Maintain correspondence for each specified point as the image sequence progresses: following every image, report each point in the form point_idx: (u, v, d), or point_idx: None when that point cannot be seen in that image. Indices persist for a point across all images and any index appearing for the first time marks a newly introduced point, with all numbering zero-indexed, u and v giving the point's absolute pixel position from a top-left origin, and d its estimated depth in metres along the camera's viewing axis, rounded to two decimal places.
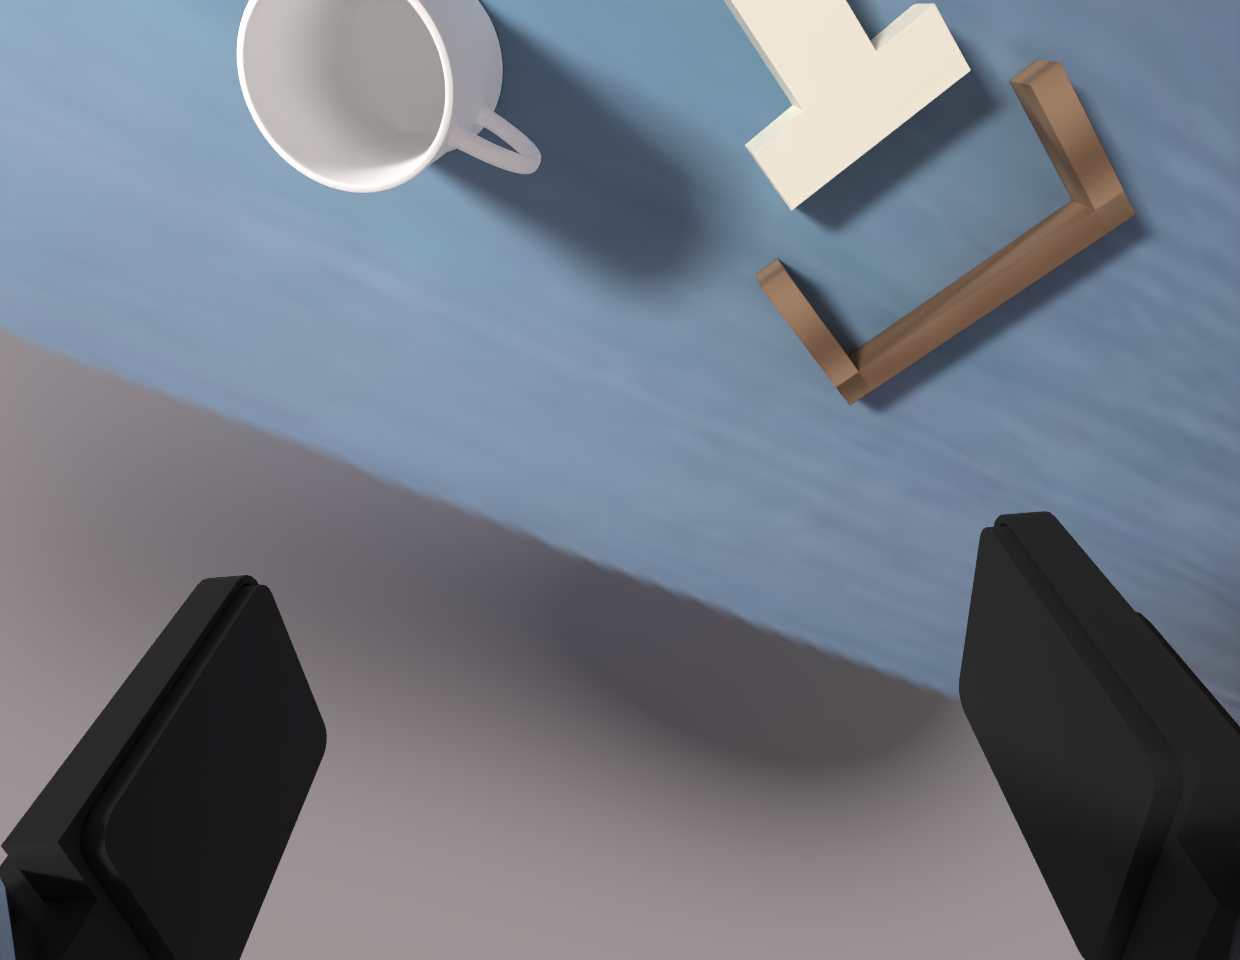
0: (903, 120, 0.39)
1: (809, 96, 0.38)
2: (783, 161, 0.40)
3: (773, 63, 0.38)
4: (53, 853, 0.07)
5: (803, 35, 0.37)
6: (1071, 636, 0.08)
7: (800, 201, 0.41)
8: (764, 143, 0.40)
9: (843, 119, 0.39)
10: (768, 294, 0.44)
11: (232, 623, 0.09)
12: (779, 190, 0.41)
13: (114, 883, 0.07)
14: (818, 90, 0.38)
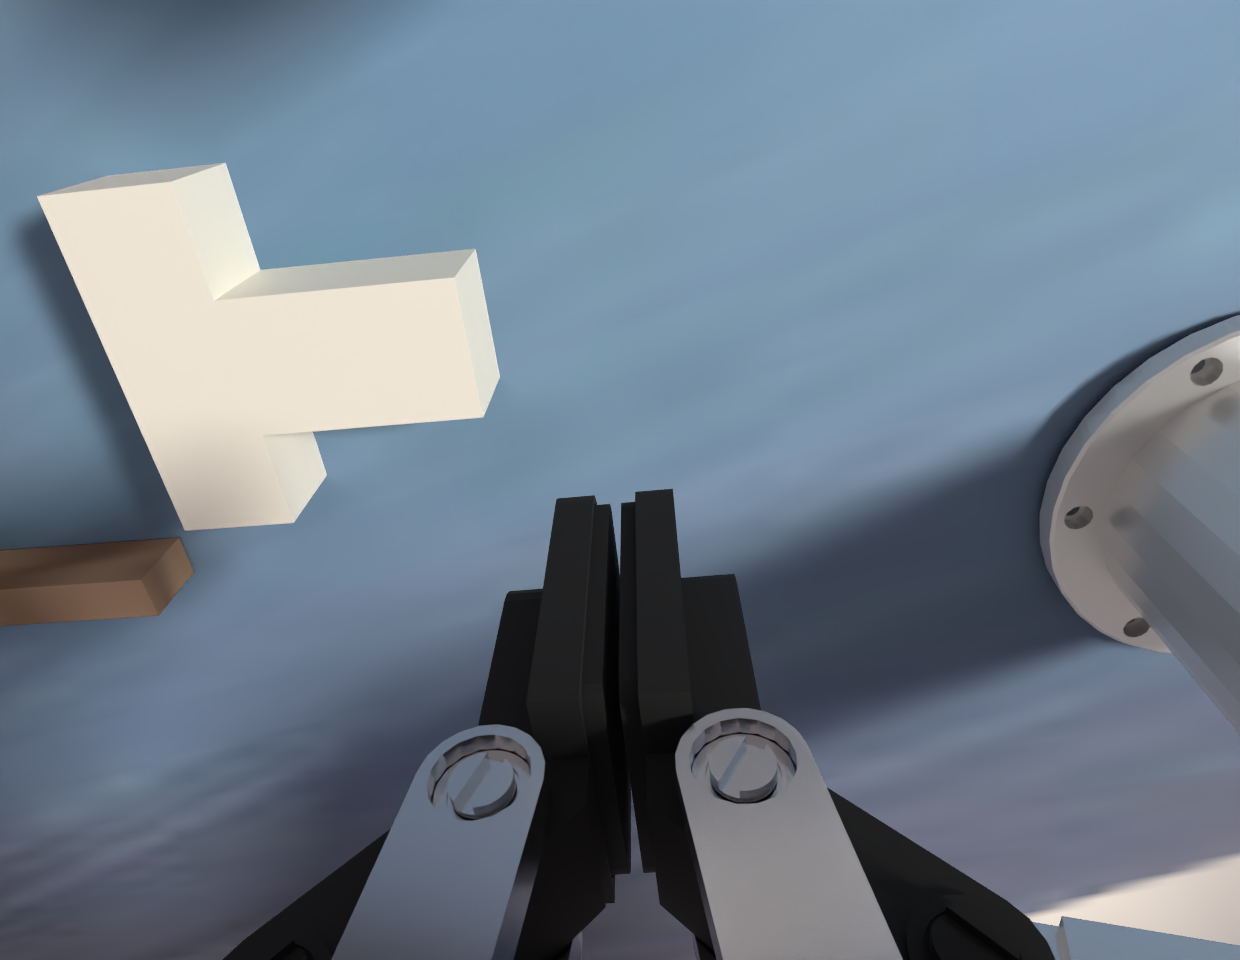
0: (142, 429, 0.23)
1: (234, 320, 0.22)
2: (137, 227, 0.20)
3: (309, 293, 0.21)
4: (568, 711, 0.08)
5: (330, 353, 0.22)
6: (625, 591, 0.09)
7: (50, 220, 0.20)
8: (183, 212, 0.20)
9: (176, 352, 0.22)
10: None
11: (604, 534, 0.10)
12: (83, 194, 0.20)
13: (598, 744, 0.08)
14: (238, 337, 0.22)
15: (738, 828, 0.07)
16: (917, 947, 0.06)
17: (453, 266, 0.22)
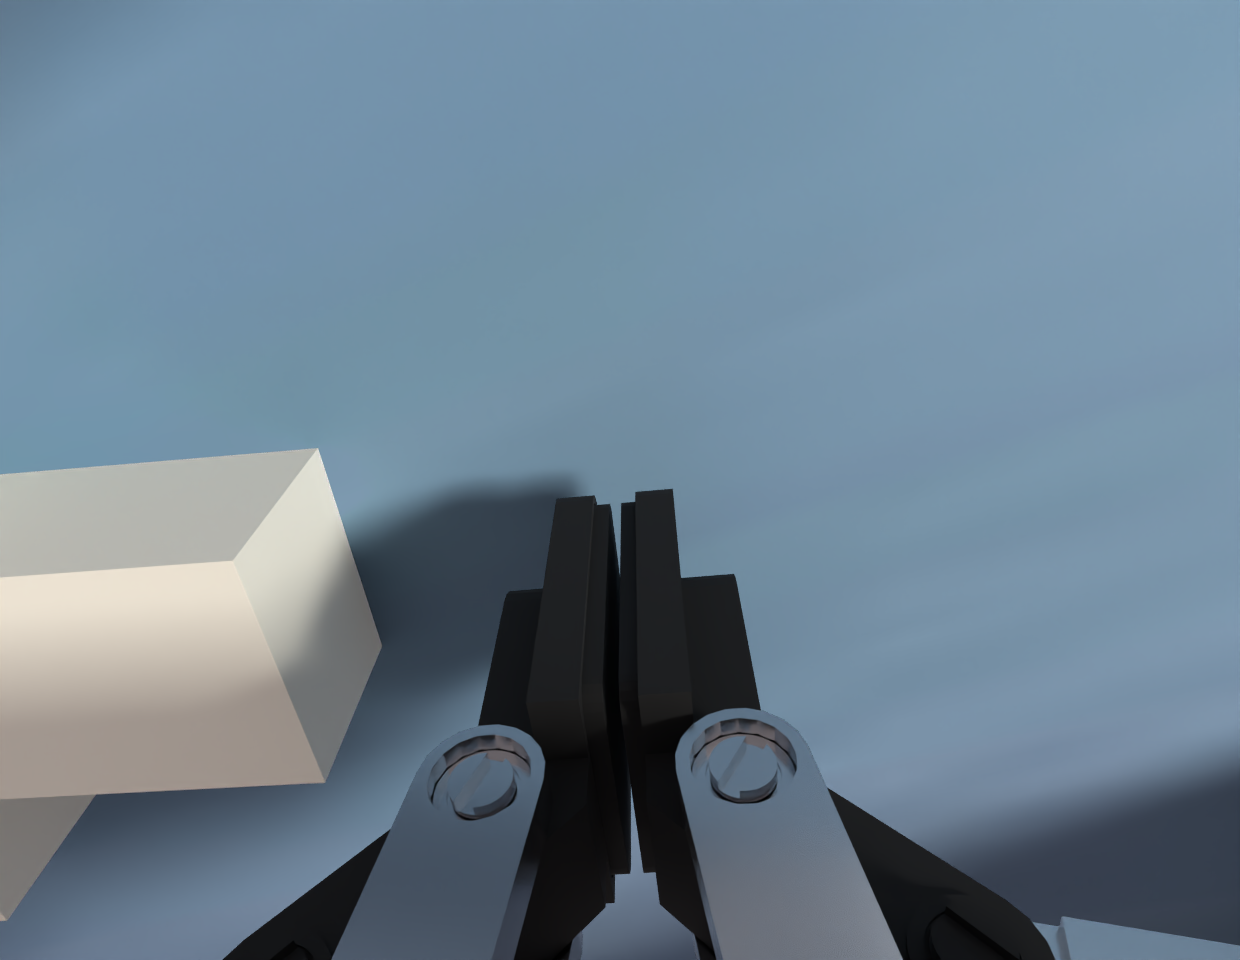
0: None
1: None
2: None
3: None
4: (568, 711, 0.08)
5: (7, 683, 0.11)
6: (624, 592, 0.09)
7: None
8: None
9: None
10: None
11: (604, 534, 0.10)
12: None
13: (598, 744, 0.08)
14: None
15: (738, 828, 0.07)
16: (916, 947, 0.06)
17: (251, 512, 0.11)
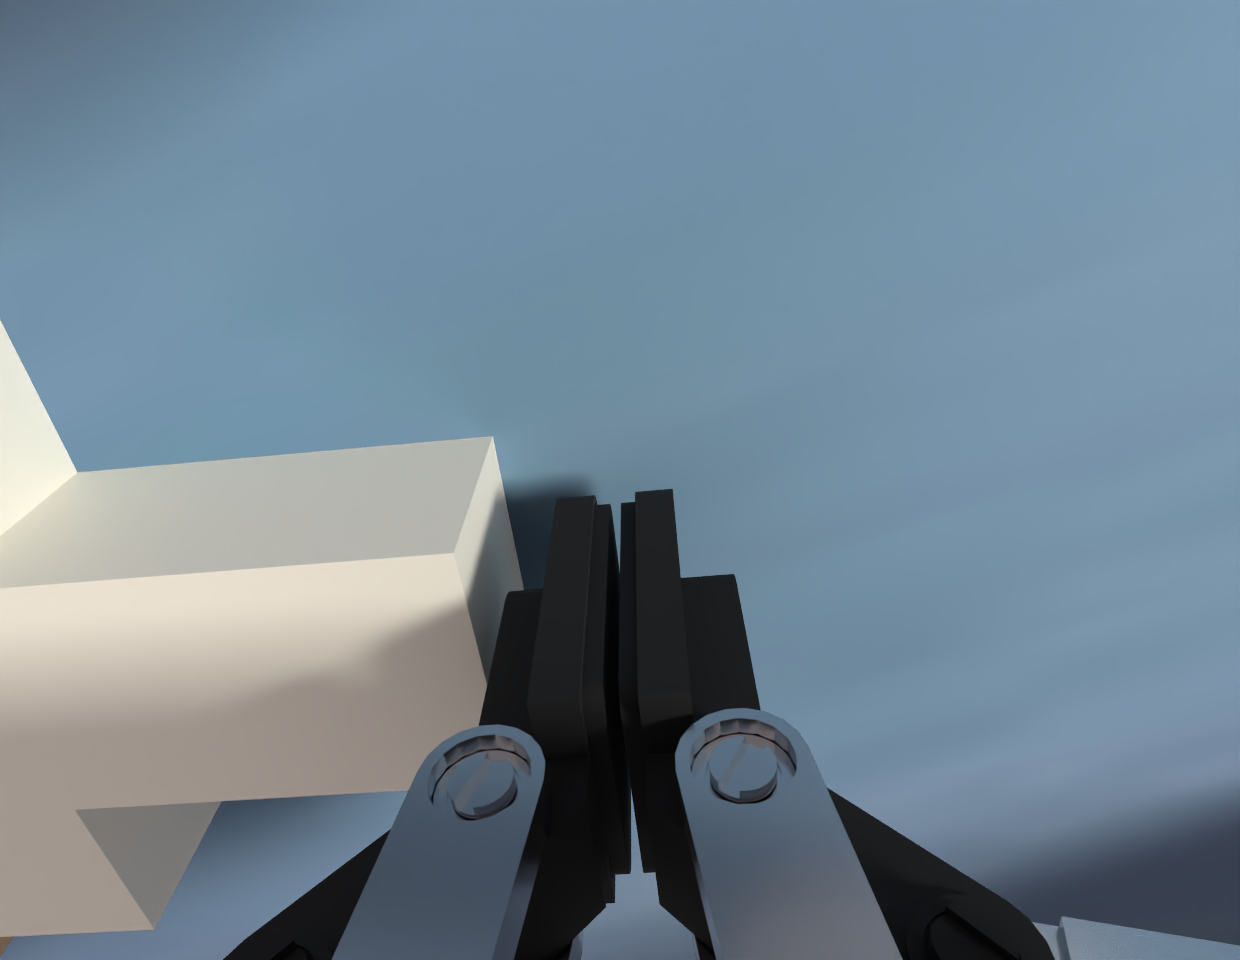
0: None
1: None
2: None
3: (137, 581, 0.10)
4: (568, 710, 0.08)
5: (194, 684, 0.11)
6: (624, 591, 0.09)
7: None
8: None
9: None
10: None
11: (604, 534, 0.10)
12: None
13: (599, 744, 0.08)
14: None
15: (738, 828, 0.07)
16: (916, 947, 0.06)
17: (450, 503, 0.10)
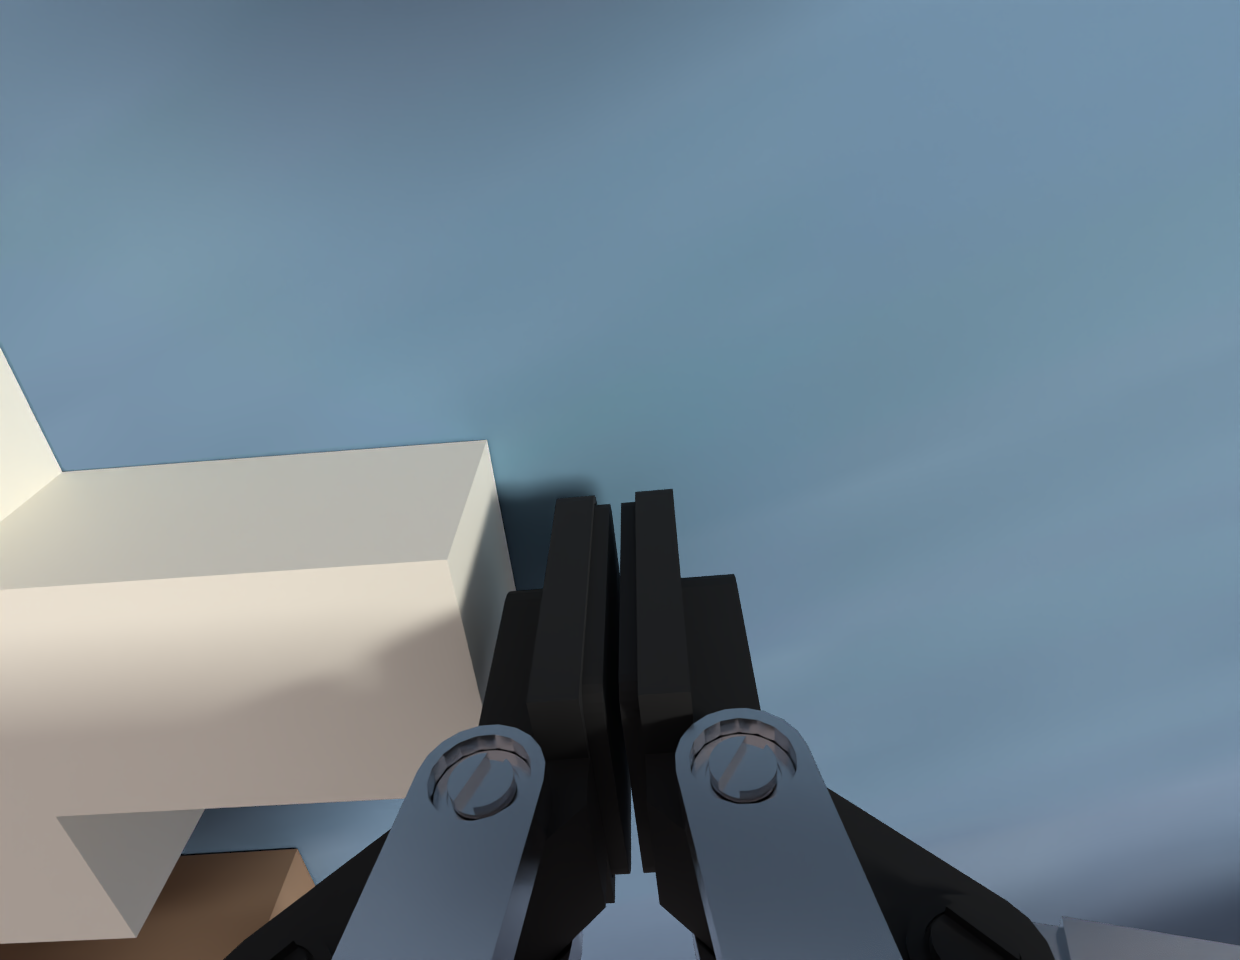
0: None
1: None
2: None
3: (122, 585, 0.09)
4: (568, 711, 0.08)
5: (180, 689, 0.10)
6: (624, 591, 0.09)
7: None
8: None
9: None
10: None
11: (605, 534, 0.10)
12: None
13: (599, 744, 0.08)
14: None
15: (738, 828, 0.07)
16: (917, 947, 0.06)
17: (444, 508, 0.10)
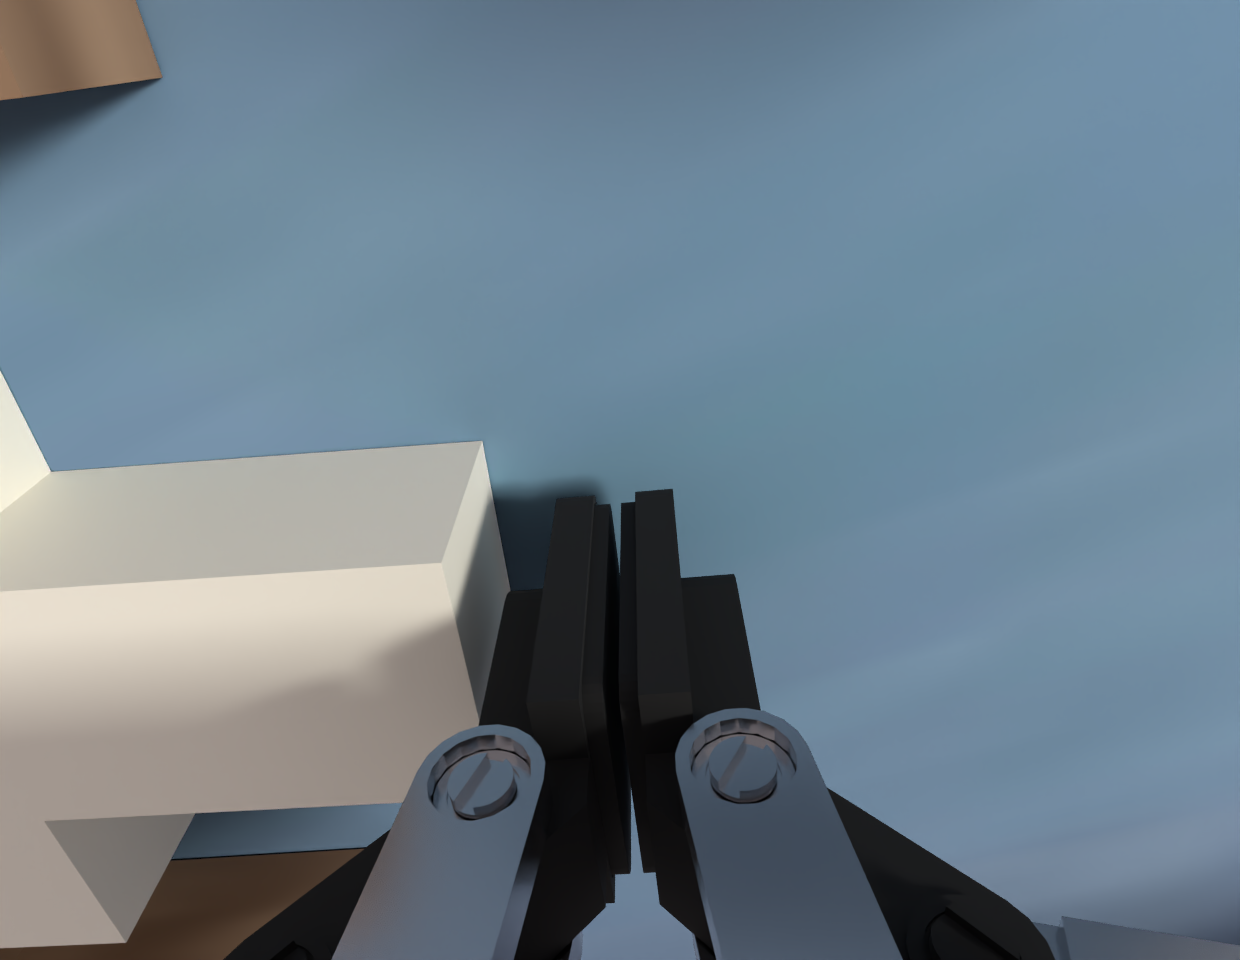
0: None
1: None
2: None
3: (111, 587, 0.09)
4: (568, 711, 0.08)
5: (170, 693, 0.10)
6: (625, 591, 0.09)
7: None
8: None
9: None
10: None
11: (604, 534, 0.10)
12: None
13: (598, 744, 0.08)
14: None
15: (738, 827, 0.07)
16: (917, 947, 0.06)
17: (438, 511, 0.10)
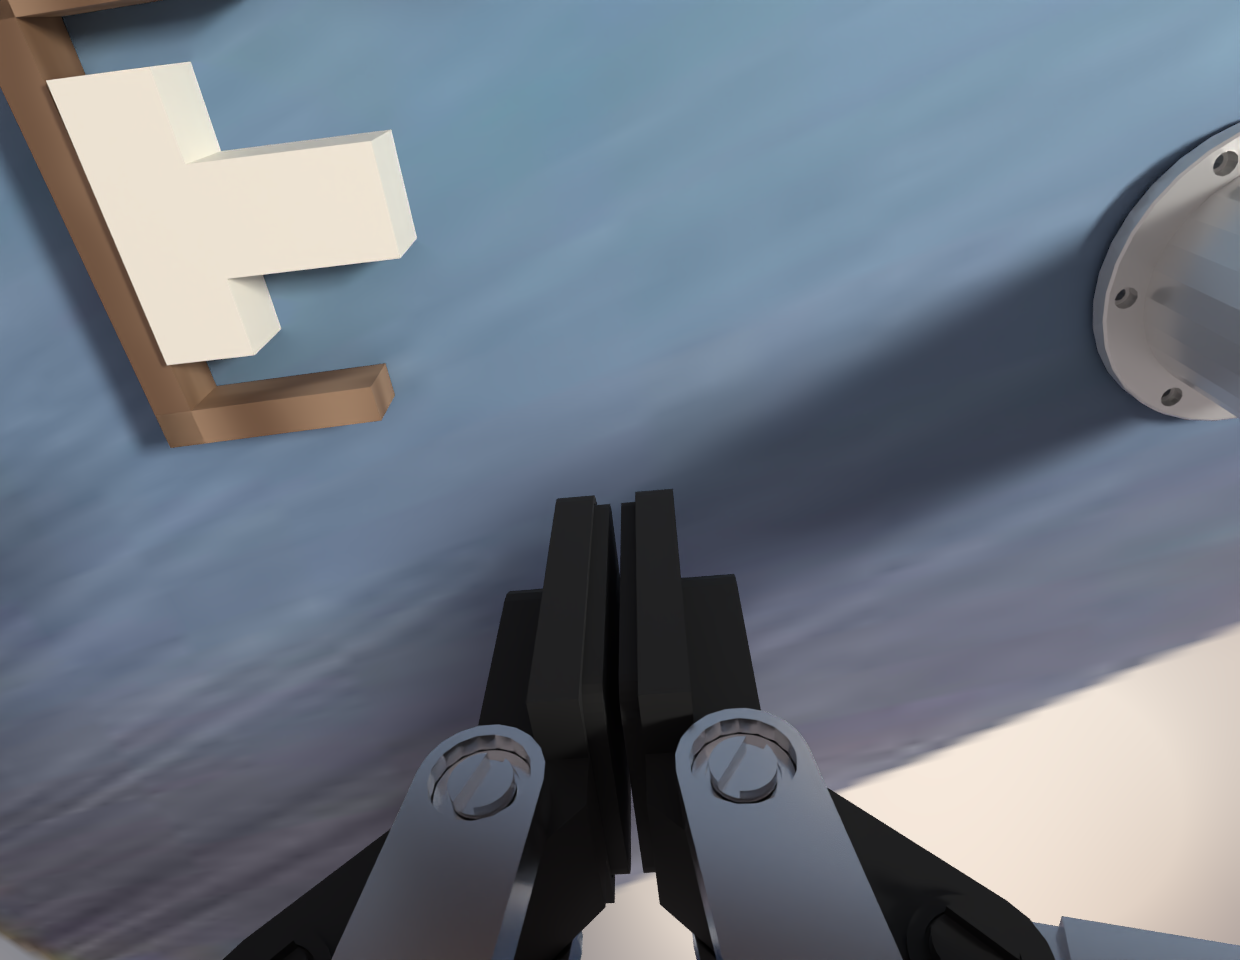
0: (131, 275, 0.30)
1: (202, 180, 0.28)
2: (124, 104, 0.27)
3: (260, 156, 0.28)
4: (567, 710, 0.08)
5: (278, 206, 0.28)
6: (624, 592, 0.09)
7: (56, 99, 0.27)
8: (159, 91, 0.27)
9: (157, 208, 0.28)
10: None
11: (604, 534, 0.10)
12: (82, 78, 0.26)
13: (598, 744, 0.08)
14: (205, 194, 0.28)
15: (738, 828, 0.07)
16: (917, 947, 0.06)
17: (371, 137, 0.28)
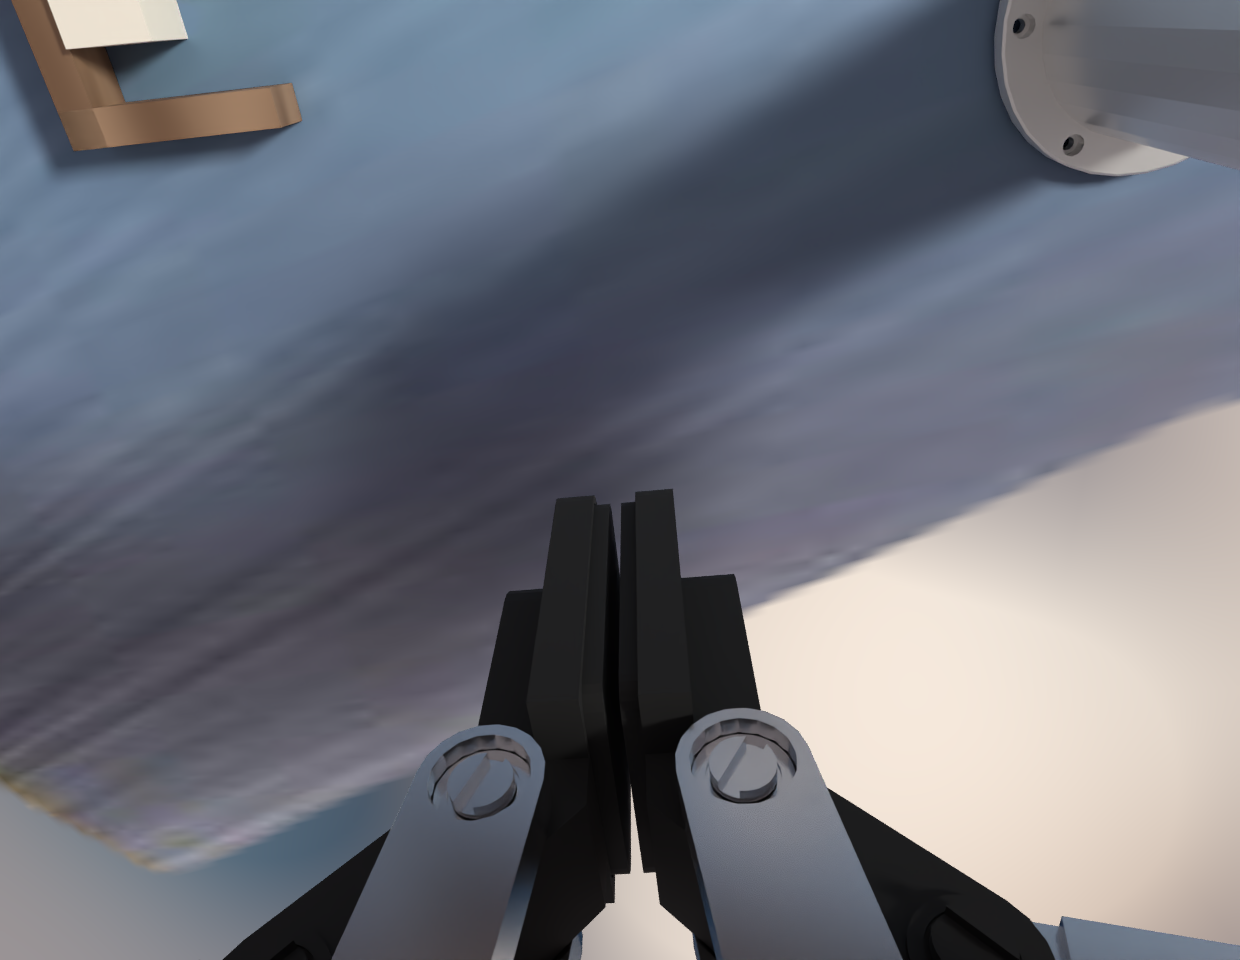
0: None
1: None
2: None
3: None
4: (568, 710, 0.08)
5: None
6: (624, 591, 0.09)
7: None
8: None
9: None
10: None
11: (604, 534, 0.10)
12: None
13: (598, 744, 0.08)
14: None
15: (738, 828, 0.07)
16: (917, 947, 0.06)
17: None
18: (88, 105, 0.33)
